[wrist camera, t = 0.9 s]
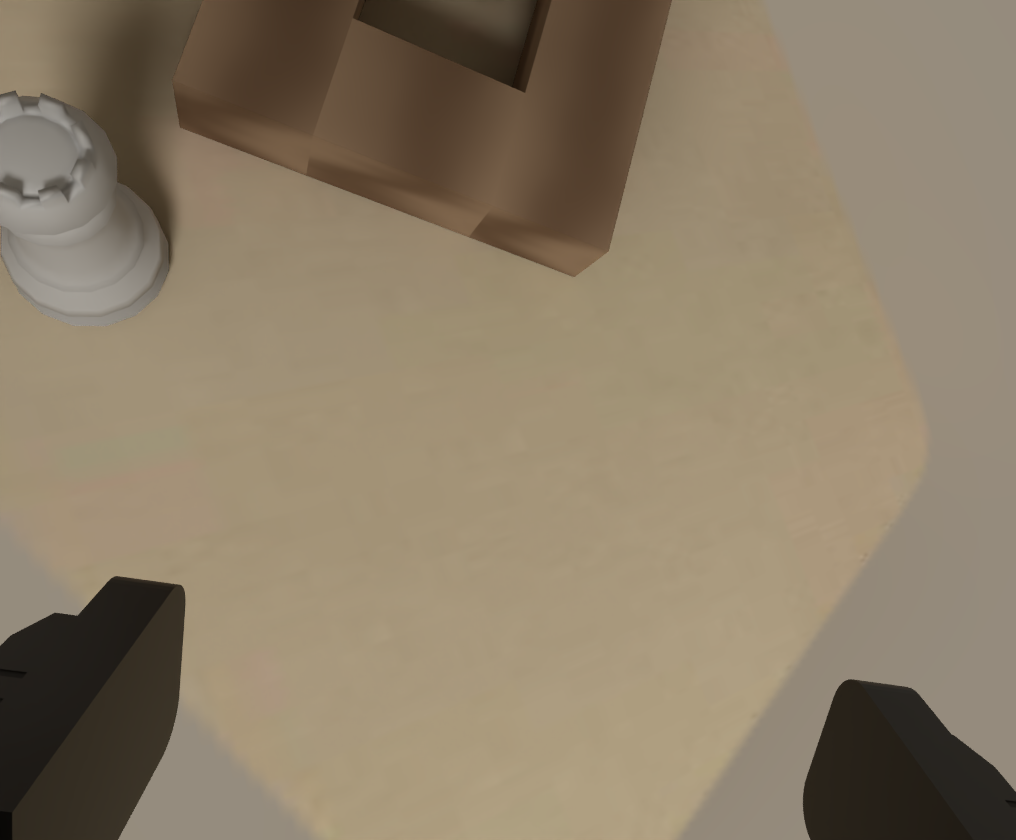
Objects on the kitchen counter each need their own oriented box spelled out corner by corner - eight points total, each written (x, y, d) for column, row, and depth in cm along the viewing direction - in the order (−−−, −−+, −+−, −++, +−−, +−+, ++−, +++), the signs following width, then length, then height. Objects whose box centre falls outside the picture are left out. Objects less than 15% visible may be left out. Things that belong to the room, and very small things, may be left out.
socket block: (180, 127, 27) (172, 79, 24) (310, -222, 29) (318, -302, 26) (574, 276, 30) (608, 251, 27) (658, -47, 33) (697, -101, 30)
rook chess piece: (153, 179, 26) (116, 39, 19) (185, 316, 26) (161, 232, 18) (-5, 198, 25) (-115, 55, 17) (27, 343, 25) (-70, 263, 17)
